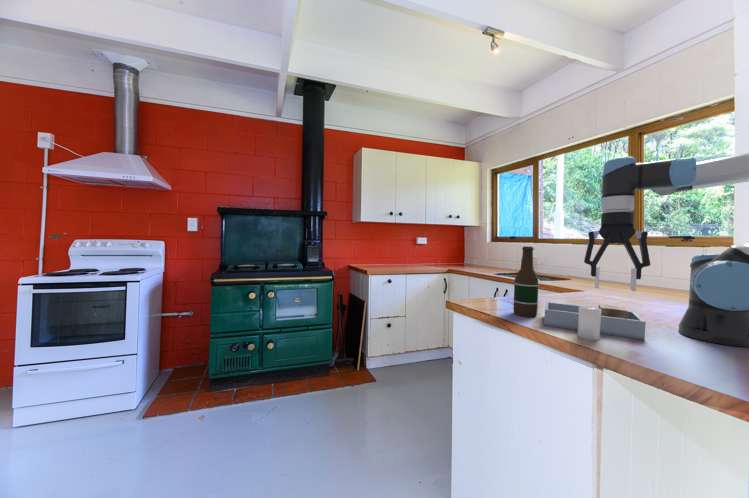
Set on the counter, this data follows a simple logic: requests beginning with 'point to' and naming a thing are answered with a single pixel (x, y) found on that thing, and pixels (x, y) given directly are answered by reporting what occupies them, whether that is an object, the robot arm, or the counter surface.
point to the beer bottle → (526, 286)
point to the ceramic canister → (589, 323)
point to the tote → (612, 326)
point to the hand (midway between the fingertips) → (614, 288)
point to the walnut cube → (613, 311)
